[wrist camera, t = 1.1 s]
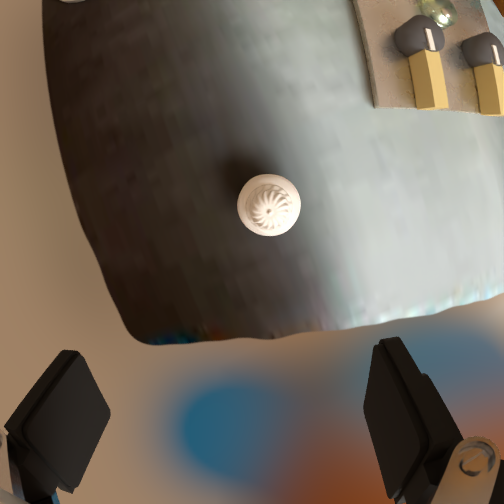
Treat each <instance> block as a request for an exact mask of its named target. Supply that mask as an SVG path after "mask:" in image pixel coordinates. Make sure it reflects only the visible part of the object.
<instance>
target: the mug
mask: <svg viewBox="0 0 504 504" xmlns="http://www.w3.org/2000/svg"><path fill="white" fill-rule="evenodd" d="M493 1H494V3H495V5H496V6H497V8H498V10H499V11H500V13H501V15H502V16H503V17H504V0H493Z"/></svg>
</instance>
